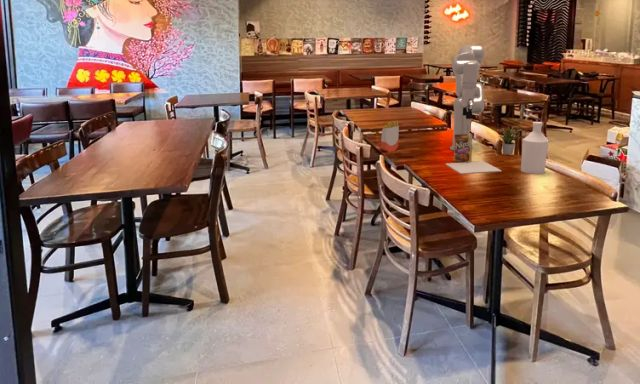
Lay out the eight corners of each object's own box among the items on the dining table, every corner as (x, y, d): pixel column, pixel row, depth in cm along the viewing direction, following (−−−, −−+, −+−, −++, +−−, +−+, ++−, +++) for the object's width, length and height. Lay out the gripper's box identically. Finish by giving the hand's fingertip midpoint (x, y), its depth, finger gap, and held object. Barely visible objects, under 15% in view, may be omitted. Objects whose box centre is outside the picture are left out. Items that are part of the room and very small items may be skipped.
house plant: (523, 157, 291) (526, 128, 286) (498, 156, 294) (500, 128, 289) (519, 151, 304) (522, 124, 299) (495, 150, 307) (497, 123, 302)
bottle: (524, 166, 271) (529, 119, 263) (548, 170, 264) (553, 121, 256) (516, 171, 262) (521, 123, 255) (540, 175, 255) (546, 125, 247)
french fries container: (380, 151, 311) (381, 122, 306) (392, 148, 318) (393, 119, 312) (386, 152, 308) (386, 123, 303) (398, 149, 315) (399, 120, 309)
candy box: (453, 161, 283) (454, 134, 280) (456, 160, 287) (456, 133, 283) (469, 162, 278) (470, 134, 275) (471, 161, 282) (472, 133, 278)
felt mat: (445, 164, 278) (445, 163, 278) (483, 162, 281) (483, 161, 281) (460, 174, 259) (460, 173, 259) (501, 171, 263) (501, 170, 262)
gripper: (459, 83, 284) (457, 114, 289) (465, 87, 267) (462, 120, 273) (473, 83, 283) (471, 114, 288) (479, 87, 267) (477, 120, 272)
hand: (467, 117), depth 281 cm, fingers open, 9 cm apart
